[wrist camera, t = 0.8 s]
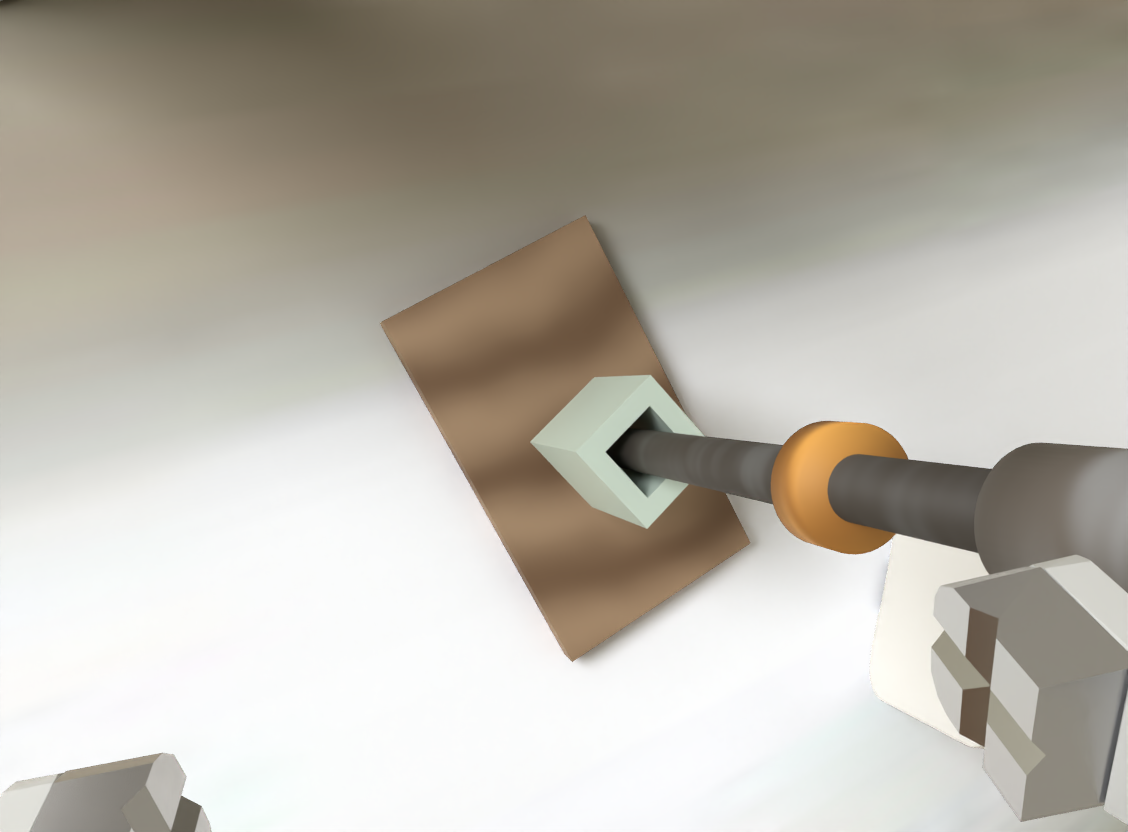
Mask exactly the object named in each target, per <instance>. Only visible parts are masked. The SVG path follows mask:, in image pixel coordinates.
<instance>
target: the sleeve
mask: <svg viewBox="0 0 1128 832" xmlns="http://www.w3.org/2000/svg"><path fill="white" fill-rule="evenodd" d="M628 428H635V429H644V430H653V431H662V432H670V433H679V434H688V435H697V436H704V435H703V434H702V433H701V431H700V430H699V429H698V428H697V427H696V426H695V425H694V423H693V422H692V421H691V420H690V419H689V418H688V417H687V416H686V414H685V413H684V412H683V411H682V410H681V409H680V408H679V406H678V405H677V404H676V403H675V402H674V401H673V400H672V399H671V397H670V396H669V395H668V394H667V393H666V392H665V391H664V390H663V388H662V387H661V386H660V385H659V384H658V383H657V382H656V380H655V379H654V378H653V377H652V376H651V375H635V376H611V377H594V378H593V379H592V380H591V381H590V382H589V383H588V384H587V385H586V386H585V387H584V388H583V389H582V390H581V391H580V392H579V393H578V394H577V395H576V396H575V397H574V398H573V399H572V400H571V401H570V402H569V403H568V404H567V405H566V406H565V407H564V408H563V409H562V410H561V411H560V412H559V413H558V414H557V415H556V416H555V417H554V418H553V419H552V420H551V421H550V422H549V423H548V424H547V425H546V426H545V427H544V428H543V429H542V430H541V431H540V432H539V433H538V434H537V435H536V436H535V437H534V438H533V439H532V440H531V441H530V442H531V444H532V445H533V446H534V447H535V448H536V449H537V450H538V451H539V452H540V453H541V454H542V455H543V456H544V457H545V458H546V459H547V460H548V461H549V463H550V464H551V465H552V466H553V467H554V468H555V469H556V470H557V471H558V472H559V473H560V474H561V475H562V476H563V477H564V478H565V479H566V480H567V482H568V483H569V484H570V485H571V486H572V487H573V488H574V489H575V490H576V491H577V492H578V493H579V494H580V495H581V496H582V497H583V498H584V499H585V500H586V502H587V503H588V504H589V505H590V506H591V507H593V508H596V509H598V510H601V511H603V512H606V513H608V514H611V515H613V516H616V517H618V518H621V519H624V520H626V521H629V522H631V523H634V524H636V525H639V526H641V527H644V528H646V529H648V527H649V526H650V525H651V524H652V523H653V522H654V521H655V520H656V519H657V518H658V517H659V516H660V515H661V513H662V512H663V511H664V510H665V509H666V508H667V507H668V506H669V505H670V504H671V503H672V502H673V501H674V499H675V498H676V497H677V496H678V495H679V494H680V493H681V492H682V491H683V490H684V489H685V488H686V487H687V486H688V484H687V483H683V482H678V481H674V480H670V479H666V478H662V477H658V476H653V475H649V474H645V473H641V472H637V471H632V470H628V469H624V468H620V467H619V466H618V465H617V464H616V463H615V462H614V461H613V460H612V459H611V458H610V457H609V456H608V455H607V453H606V451H607V450H608V449H609V448H610V447H611V445H612V444H613V443H614V442H615V441H616V440H617V439H618V438H619V437H620V436H621V435H622V434H623V433H624V432H625V431H626V430H627V429H628Z"/></svg>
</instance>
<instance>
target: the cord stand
mask: <svg viewBox="0 0 1128 832" xmlns="http://www.w3.org/2000/svg"><path fill="white" fill-rule="evenodd" d="M380 324H381V326H382V328H383V330H384V332H385V333H386V335H387V337H388V339H389V341H390V342H391V344H392V346H393V348H394V349H395V351H396V353H397V355H398V357H399V358H400V360H401V362H402V364H403V366H404V367H405V369H406V371H407V373H408V375H409V376H410V378H411V380H412V382H413V383H414V385H415V387H416V389H417V391H418V392H419V394H420V396H421V398H422V400H423V401H424V403H425V405H426V407H427V409H428V410H429V412H430V414H431V416H432V418H433V419H434V421H435V423H436V425H437V426H438V428H439V430H440V432H441V434H442V435H443V437H444V439H445V441H446V443H447V444H448V446H449V448H450V450H451V452H452V453H453V455H454V457H455V459H456V461H457V462H458V464H459V466H460V468H461V469H462V471H463V473H464V475H465V477H466V478H467V480H468V482H469V484H470V486H471V487H472V489H473V491H474V493H475V495H476V496H477V498H478V500H479V502H480V503H481V505H482V507H483V509H484V511H485V512H486V514H487V516H488V518H489V520H490V521H491V523H492V525H493V527H494V529H495V530H496V532H497V534H498V536H499V538H500V539H501V541H502V543H503V545H504V546H505V548H506V550H507V552H508V554H509V555H510V557H511V559H512V561H513V563H514V564H515V566H516V568H517V570H518V572H519V573H520V575H521V577H522V579H523V581H524V582H525V584H526V586H527V588H528V589H529V591H530V593H531V595H532V597H533V598H534V600H535V602H536V604H537V606H538V607H539V609H540V611H541V613H542V615H543V616H544V618H545V620H546V622H547V624H548V625H549V627H550V629H551V631H552V632H553V634H554V636H555V638H556V640H557V641H558V643H559V645H560V647H561V649H562V650H563V652H564V654H565V655H566V656H567V657H568V658H569V659H570V660H571V661H572V662H573V661H574V660H576V659H577V658H579V657H580V656H582V655H583V654H585V653H586V652H588V651H589V650H591V649H592V648H594V647H595V646H597V645H598V644H600V643H601V642H603V641H604V640H606V639H607V638H609V637H610V636H612V635H613V634H615V633H616V632H618V631H619V630H621V629H622V628H624V627H625V626H627V625H628V624H630V623H631V622H633V621H634V620H636V619H637V618H639V617H640V616H642V615H643V614H645V613H646V612H648V611H649V610H651V609H652V608H654V607H655V606H657V605H658V604H660V603H661V602H663V601H664V600H666V599H668V598H669V597H671V596H672V595H674V594H675V593H677V592H678V591H680V590H681V589H683V588H684V587H686V586H687V585H689V584H690V583H692V582H693V581H695V580H696V579H698V578H699V577H701V576H702V575H704V574H705V573H707V572H708V571H710V570H711V569H713V568H714V567H716V566H717V565H719V564H720V563H722V562H723V561H725V560H726V559H728V558H729V557H731V556H732V555H734V554H735V553H737V552H738V551H740V550H741V549H743V548H744V547H746V546H747V545H749V544H750V541H749V539H748V537H747V535H746V533H745V531H744V529H743V527H742V525H741V523H740V521H739V519H738V517H737V515H736V513H735V511H734V509H733V507H732V505H731V503H730V501H729V499H728V497H727V495H726V493H729V494H733V495H737V496H741V497H745V498H750V499H754V500H758V501H762V502H766V503H770V504H773V505H774V508H775V511H776V513H777V515H778V517H779V519H780V521H781V522H782V524H783V525H784V526H785V527H786V529H787V530H788V531H789V532H791V533H792V534H793V535H794V536H796V537H797V538H799V539H801V540H803V541H805V542H808V543H811V544H814V545H817V546H821V547H824V548H827V549H831V550H834V551H837V552H841V553H846V554H863V553H867V552H871V551H873V550H875V549H878V548H879V547H881V546H883V545H884V544H885V543H887V542H888V541H889V540H890V539H891V538H892V537H893V536H894V535H895V534H900V535H904V536H908V537H913V538H917V539H921V540H925V541H929V542H934V543H938V544H942V545H946V546H950V547H954V548H959V549H963V550H967V551H971V552H975V553H978V554H979V556H980V559H981V561H982V563H983V565H984V567H985V569H986V571H987V572H988V573H989V575H990V574H995V573H999V572H1004V571H1008V570H1012V569H1017V568H1021V567H1029V566H1031V565H1033V564H1037V563H1042V562H1046V561H1050V560H1055V559H1059V558H1063V557H1068V556H1072V555H1079V556H1082V557H1084V558H1087V559H1089V560H1091V561H1092V562H1093V563H1094V564H1095V565H1096V566H1098V567H1099V568H1100V569H1101V570H1102V571H1103V572H1104V573H1105V574H1107V575H1108V576H1109V577H1110V578H1111V579H1112V580H1113V581H1114V582H1116V583H1117V584H1118V585H1119V586H1120V587H1121V588H1122V589H1123V590H1125V591H1126V592H1127V593H1128V449H1123V448H1109V447H1095V446H1081V445H1067V444H1053V443H1031V444H1027V445H1024V446H1021V447H1019V448H1016V449H1015V450H1013V451H1011V452H1010V453H1008V454H1007V455H1006V456H1004V457H1003V458H1002V459H1001V460H1000V461H999V462H998V463H997V464H996V465H995V466H994V467H993V469H987V468H978V467H969V466H960V465H952V464H943V463H934V462H925V461H916V460H908V458H907V455H906V453H905V451H904V450H903V448H902V447H901V445H900V444H899V442H898V441H897V440H896V439H895V438H894V437H893V436H892V435H891V434H889V433H888V432H887V431H885V430H883V429H882V428H879V427H877V426H875V425H871V424H867V423H853V422H836V421H820V422H816V423H812V424H809V425H807V426H805V427H803V428H801V429H799V430H798V431H797V432H795V433H794V434H793V435H792V436H791V437H790V438H789V439H788V440H787V441H786V442H785V444H784V445H776V444H767V443H758V442H749V441H741V440H732V439H723V438H714V437H705V436H697V435H688V434H679V433H670V432H662V431H653V430H644V429H635V428H628V429H627V430H626V431H625V432H624V433H623V434H622V435H621V436H620V437H619V438H618V439H617V440H616V441H615V442H614V443H613V444H612V445H611V447H610V448H609V449H608V450H607V451H606V453H607V455H608V456H609V457H610V458H611V459H612V460H613V461H614V462H615V463H616V464H617V465H618V466H619V467H620V468H624V469H628V470H632V471H637V472H641V473H645V474H649V475H653V476H658V477H662V478H666V479H670V480H674V481H678V482H683V483H687V484H688V486H687V487H686V488H685V489H684V490H683V491H682V492H681V493H680V494H679V495H678V496H677V497H676V498H675V499H674V501H673V502H672V503H671V504H670V505H669V506H668V507H667V508H666V509H665V510H664V511H663V512H662V513H661V515H660V516H659V517H658V518H657V519H656V520H655V521H654V522H653V523H652V524H651V525H650V526H649V527H648V529H646V528H644V527H641V526H639V525H636V524H634V523H631V522H629V521H626V520H624V519H621V518H618V517H616V516H613V515H611V514H608V513H606V512H603V511H601V510H598V509H596V508H593V507H591V506H590V505H589V504H588V503H587V502H586V500H585V499H584V498H583V497H582V496H581V495H580V494H579V493H578V492H577V491H576V490H575V489H574V488H573V487H572V486H571V485H570V484H569V483H568V482H567V480H566V479H565V478H564V477H563V476H562V475H561V474H560V473H559V472H558V471H557V470H556V469H555V468H554V467H553V466H552V465H551V464H550V463H549V461H548V460H547V459H546V458H545V457H544V456H543V455H542V454H541V453H540V452H539V451H538V450H537V449H536V448H535V447H534V446H533V445H532V444H531V442H530V441H531V440H532V439H533V438H534V437H535V436H536V435H537V434H538V433H539V432H540V431H541V430H542V429H543V428H544V427H545V426H546V425H547V424H548V423H549V422H550V421H551V420H552V419H553V418H554V417H555V416H556V415H557V414H558V413H559V412H560V411H561V410H562V409H563V408H564V407H565V406H566V405H567V404H568V403H569V402H570V401H571V400H572V399H573V398H574V397H575V396H576V395H577V394H578V393H579V392H580V391H581V390H582V389H583V388H584V387H585V386H586V385H587V384H588V383H589V382H590V381H591V380H592V379H593V378H594V377H611V376H635V375H651V376H652V377H653V378H654V379H655V380H656V382H657V383H658V384H659V385H660V386H661V387H662V388H663V390H664V391H665V392H666V393H667V394H668V395H669V396H670V397H671V399H672V400H673V401H674V402H675V403H676V404H677V405H678V406H679V408H680V409H681V410H682V411H683V412H684V410H683V408H682V406H681V404H680V402H679V400H678V398H677V396H676V394H675V392H674V390H673V388H672V386H671V384H670V382H669V380H668V378H667V376H666V374H665V372H664V370H663V368H662V366H661V364H660V362H659V360H658V358H657V356H656V354H655V352H654V350H653V348H652V346H651V345H650V343H649V341H648V339H647V337H646V335H645V333H644V331H643V329H642V327H641V325H640V323H639V321H638V319H637V317H636V315H635V313H634V311H633V309H632V307H631V305H630V303H629V301H628V299H627V297H626V295H625V293H624V291H623V289H622V287H621V285H620V283H619V281H618V279H617V277H616V275H615V273H614V271H613V269H612V267H611V265H610V263H609V261H608V259H607V257H606V255H605V253H604V251H603V249H602V247H601V245H600V243H599V241H598V239H597V237H596V235H595V233H594V231H593V229H592V227H591V225H590V223H589V221H588V219H587V217H586V215H585V216H583V217H581V218H579V219H577V220H575V221H573V222H572V223H570V224H568V225H566V226H564V227H562V228H560V229H558V230H556V231H554V232H552V233H551V234H549V235H547V236H545V237H543V238H541V239H539V240H537V241H535V242H533V243H531V244H529V245H528V246H526V247H524V248H522V249H520V250H518V251H516V252H514V253H512V254H510V255H508V256H507V257H505V258H503V259H501V260H499V261H497V262H495V263H493V264H491V265H489V266H487V267H486V268H484V269H482V270H480V271H478V272H476V273H474V274H472V275H470V276H468V277H466V278H465V279H463V280H461V281H459V282H457V283H455V284H453V285H451V286H449V287H447V288H445V289H443V290H442V291H440V292H438V293H436V294H434V295H432V296H430V297H428V298H426V299H424V300H422V301H421V302H419V303H417V304H415V305H413V306H411V307H409V308H407V309H405V310H403V311H401V312H400V313H398V314H396V315H394V316H392V317H390V318H388V319H386V320H384V321H382V322H381V323H380ZM684 413H685V412H684Z"/></svg>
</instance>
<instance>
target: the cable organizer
mask: <svg viewBox="0 0 1128 832" xmlns="http://www.w3.org/2000/svg"><path fill="white" fill-rule="evenodd" d="M986 575H989V573H988V572H987V571H986V569H985V567H984V565H983V563H982V561H981V559H980V556H979V554H978V553H975V552H971V551H967V550H963V549H959V548H954V547H950V546H946V545H942V544H938V543H934V542H929V541H925V540H921V539H917V538H913V537H908V536H904V535H900V534H895V535H894V536H893V539H892V545H891V550H890V556H889V564H888V569H887V575H886V580H885V585H884V590H883V595H882V600H881V605H880V611H879V613H878V616H877V621H876V626H875V631H874V637H873V642H872V647H871V654H870V656H871V657H870V666H869V673H870V681H871V685H872V688H873V691H874V693H875V694H876V696H877V697H878V698H879V699H880V700H881V701H883V702H885V703H887V704H889V705H891V706H893V707H894V708H896V709H898V710H900V711H902V712H904V713H906V714H908V715H910V716H911V717H913V718H915V719H917V720H919V721H921V722H923V723H925V724H927V725H928V726H930V727H932V728H934V729H936V730H938V731H940V732H942V733H944V734H945V735H947V736H949V737H951V738H953V739H955V740H957V741H959V742H961V743H962V744H964V745H966V746H969V747H974V748H982V749H985V747H983V746H981V745H979V744H978V743H976V742H974V741H972V740H970V739H968V738H966V737H964V736H962V735H960V734H959V733H958V731H957V730H956V728H955V727H954V725H953V724H952V722H951V721H950V719H949V718H948V716H947V715H946V713H945V711H944V709H943V707H942V704H941V702H940V700H939V698H938V696H937V692H936V689H935V685H934V681H933V677H932V673H931V647H932V645H933V644H934V643H935V642H936V640H937V639H938V638H939V636H940V635H941V634H942V632H943V631H944V629H943V627H942V626H941V625H940V623H939V622H938V621H937V620H936V618H935V617H934V616H933V611H934V598H935V595H936V593H937V591H938V589H939V587H940V586H941V585H945V584H950V583H954V582H959V581H963V580H968V579H972V578H977V577H981V576H986Z"/></svg>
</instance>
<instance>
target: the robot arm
mask: <svg viewBox="0 0 1128 832" xmlns="http://www.w3.org/2000/svg"><path fill="white" fill-rule="evenodd" d="M0 1H1V0H0ZM933 616H934V617H935V618H936V620H937V621H938V622H939V623H940V625H941V626H942V627H943V629H944V631H943V632H942V634H941V635H940V636H939V638H938V639H937V640H936V642H935V643H934V644H933V645H932V647H931V673H932V677H933V681H934V685H935V689H936V692H937V696H938V698H939V700H940V702H941V704H942V707H943V709H944V711H945V713H946V715H947V716H948V718H949V719H950V721H951V722H952V724H953V725H954V727H955V728H956V730H957V731H958V733H959V734H960V735H962V736H964V737H966V738H968V739H970V740H972V741H974V742H976V743H978V744H979V745H981V746H983V747H985V749H984V760H983V769H984V770H985V772H986V773H987V775H988V776H989V777H990V779H991V780H992V782H993V783H994V785H995V786H996V787H997V789H998V790H999V792H1000V793H1001V795H1002V796H1003V797H1004V799H1005V800H1006V802H1007V803H1008V804H1009V806H1010V807H1011V809H1012V810H1013V812H1014V813H1015V814H1016V816H1017V817H1018V819H1019V820H1020V821H1021V822H1022V821H1027V820H1032V819H1037V818H1042V817H1047V816H1052V815H1057V814H1062V813H1067V812H1072V811H1077V810H1082V809H1087V808H1092V807H1097V806H1102V805H1104V809H1103V810H1105V811H1106V812H1108V813H1109V814H1111V815H1112V816H1114V817H1116V818H1117V819H1119V820H1120V821H1122V822H1123V823H1125V824H1127V825H1128V593H1127V592H1126V591H1125V590H1123V589H1122V588H1121V587H1120V586H1119V585H1118V584H1117V583H1116V582H1114V581H1113V580H1112V579H1111V578H1110V577H1109V576H1108V575H1107V574H1105V573H1104V572H1103V571H1102V570H1101V569H1100V568H1099V567H1098V566H1096V565H1095V564H1094V563H1093V562H1092V561H1091V560H1089V559H1087V558H1084V557H1082V556H1079V555H1072V556H1068V557H1063V558H1059V559H1055V560H1050V561H1046V562H1042V563H1037V564H1033V565H1031V566H1029V567H1021V568H1017V569H1012V570H1008V571H1004V572H999V573H995V574H990V575H986V576H981V577H977V578H972V579H968V580H963V581H959V582H954V583H950V584H945V585H941V586H940V587H939V589H938V591H937V593H936V595H935V598H934V611H933ZM185 780H186V775H185V773H184V771H183V770H182V768H181V766H180V764H179V763H178V761H177V759H176V757H175V756H174V755H173V754H167V753H159V754H154V755H149V756H143V757H138V758H133V759H128V760H122V761H117V762H112V763H107V764H101V765H96V766H91V767H85V768H80V769H75V770H70V771H66V772H65V773H61V774H55V775H50V776H44V777H39V778H33V779H28V780H22V781H17V782H15V783H14V784H13V785H12V786H10V787H9V788H8V789H7V790H5V791H4V792H3V793H2V794H1V796H0V832H212V831H211V827H210V823H209V821H208V818H207V816H206V814H205V812H204V810H203V808H202V806H200V805H198V804H196V803H194V802H193V801H191V800H189V799H187V798H185V797H183V796H181V794H182V791H183V787H184V784H185Z"/></svg>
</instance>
